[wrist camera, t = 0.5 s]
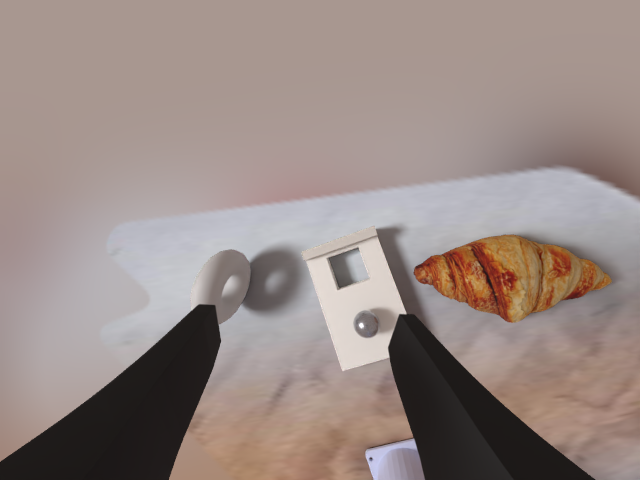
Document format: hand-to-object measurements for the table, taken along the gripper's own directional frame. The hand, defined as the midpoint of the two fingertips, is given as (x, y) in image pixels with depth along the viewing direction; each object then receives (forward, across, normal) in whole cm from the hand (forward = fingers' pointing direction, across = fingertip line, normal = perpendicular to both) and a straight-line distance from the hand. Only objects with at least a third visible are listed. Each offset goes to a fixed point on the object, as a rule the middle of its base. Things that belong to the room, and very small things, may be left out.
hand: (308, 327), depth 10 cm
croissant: (+18, -25, +9) cm, 32 cm away
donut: (+22, +9, +16) cm, 29 cm away
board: (+19, -8, +14) cm, 25 cm away
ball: (+14, -8, +14) cm, 21 cm away
